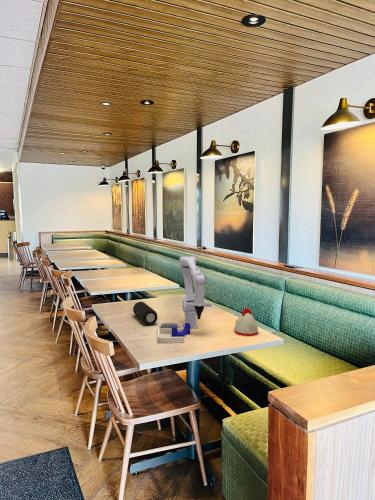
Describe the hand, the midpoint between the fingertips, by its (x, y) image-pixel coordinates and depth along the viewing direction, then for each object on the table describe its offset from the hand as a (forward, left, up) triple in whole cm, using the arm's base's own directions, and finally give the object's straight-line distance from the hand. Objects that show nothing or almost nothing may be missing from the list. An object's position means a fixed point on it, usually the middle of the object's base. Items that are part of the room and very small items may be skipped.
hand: (198, 318), depth 208 cm
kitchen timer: (-3, +29, -10) cm, 31 cm away
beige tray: (+2, -17, -9) cm, 19 cm away
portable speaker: (-29, -31, -10) cm, 44 cm away
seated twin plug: (-5, -17, -9) cm, 20 cm away
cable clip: (+1, -10, -10) cm, 14 cm away
